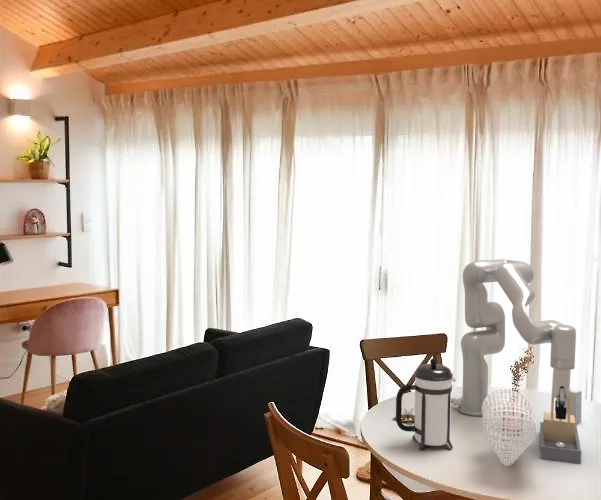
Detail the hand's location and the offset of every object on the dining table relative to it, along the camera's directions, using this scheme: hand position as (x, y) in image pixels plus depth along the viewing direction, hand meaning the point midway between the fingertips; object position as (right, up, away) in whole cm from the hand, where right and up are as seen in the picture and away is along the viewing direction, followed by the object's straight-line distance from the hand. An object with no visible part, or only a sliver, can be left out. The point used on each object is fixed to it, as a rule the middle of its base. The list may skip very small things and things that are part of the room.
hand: (560, 415), depth 226 cm
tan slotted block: (0, -3, 0) cm, 3 cm away
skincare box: (+14, -9, +28) cm, 33 cm away
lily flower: (-46, -10, +30) cm, 56 cm away
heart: (-21, -13, -11) cm, 28 cm away
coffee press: (-43, -12, +5) cm, 45 cm away
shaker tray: (+1, -12, +3) cm, 12 cm away
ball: (-1, -10, -3) cm, 10 cm away
